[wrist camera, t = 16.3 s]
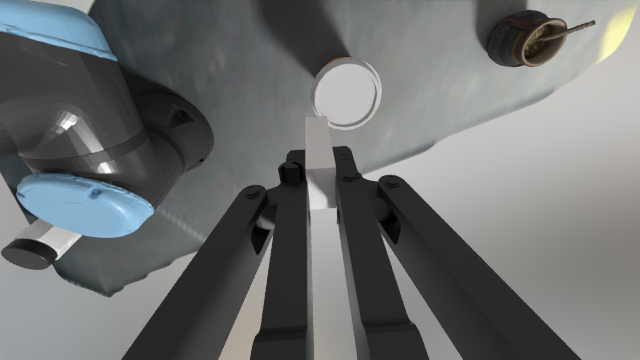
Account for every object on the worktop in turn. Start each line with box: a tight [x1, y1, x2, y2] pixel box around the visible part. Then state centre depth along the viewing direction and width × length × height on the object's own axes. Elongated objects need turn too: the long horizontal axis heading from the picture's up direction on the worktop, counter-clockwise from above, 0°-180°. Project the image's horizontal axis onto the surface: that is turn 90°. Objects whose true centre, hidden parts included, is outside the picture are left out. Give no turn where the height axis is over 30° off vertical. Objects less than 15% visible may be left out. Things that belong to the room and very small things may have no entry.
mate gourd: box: [487, 10, 595, 67], centre depth 33 cm, size 7×8×10 cm
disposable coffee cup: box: [311, 57, 382, 130], centre depth 35 cm, size 10×10×12 cm
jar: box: [1, 218, 82, 270], centre depth 55 cm, size 9×8×12 cm
